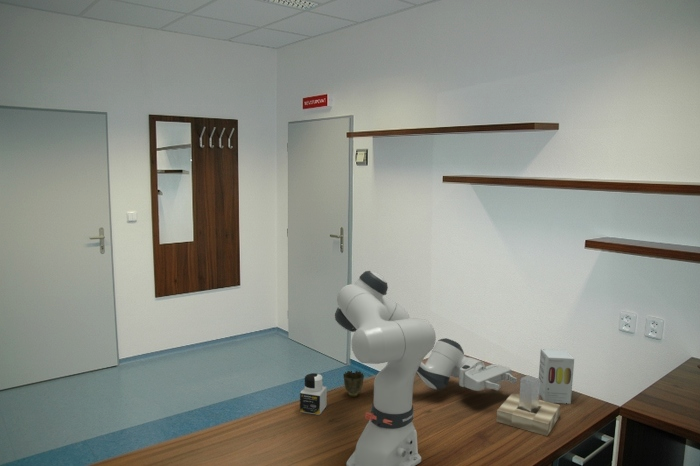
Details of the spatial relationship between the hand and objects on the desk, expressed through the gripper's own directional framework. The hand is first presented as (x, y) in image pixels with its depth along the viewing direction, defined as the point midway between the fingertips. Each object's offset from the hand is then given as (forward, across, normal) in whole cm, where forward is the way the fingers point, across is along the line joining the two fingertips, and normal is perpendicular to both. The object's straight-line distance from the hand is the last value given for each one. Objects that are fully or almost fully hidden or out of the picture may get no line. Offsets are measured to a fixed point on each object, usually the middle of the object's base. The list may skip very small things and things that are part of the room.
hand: (507, 384), depth 179 cm
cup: (-41, +34, -10) cm, 54 cm away
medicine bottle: (-41, +52, -10) cm, 67 cm away
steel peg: (+9, 0, -9) cm, 13 cm away
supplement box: (+5, -22, -9) cm, 24 cm away
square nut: (+9, 0, -9) cm, 13 cm away
